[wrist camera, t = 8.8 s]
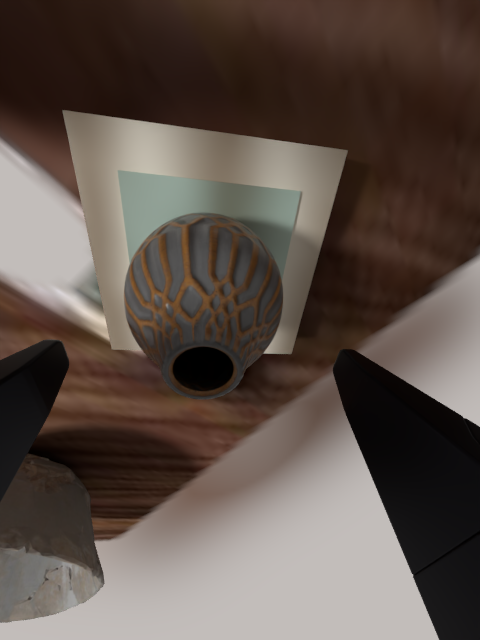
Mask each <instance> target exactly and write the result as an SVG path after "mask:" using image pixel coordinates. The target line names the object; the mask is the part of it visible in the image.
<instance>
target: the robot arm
mask: <svg viewBox="0 0 480 640" xmlns="http://www.w3.org/2000/svg"><path fill="white" fill-rule="evenodd" d="M68 368H69V359H68V356H67V353H66V350H65V347H64V344H63V342H62V341H60V340H43V341H41V342H39V343H37V344H35V345H32V346H30V347H28V348H26V349H24V350H22V351H19V352H17V353H15V354H13V355H11V356H9V357H6V358H4V359H2V360H0V502H1V500H2V499H3V497H4V495H5V493H6V491H7V489H8V488H9V486H10V484H11V482H12V480H13V479H14V477H15V475H16V473H17V471H18V470H19V468H20V466H21V464H22V462H23V461H24V459H25V457H26V455H27V453H28V452H29V450H30V448H31V446H32V444H33V442H34V441H35V439H36V437H37V435H38V433H39V432H40V430H41V428H42V426H43V424H44V423H45V421H46V419H47V417H48V415H49V413H50V411H51V409H52V406H53V404H54V402H55V399H56V397H57V394H58V392H59V390H60V387H61V385H62V382H63V380H64V378H65V375H66V373H67V370H68ZM333 374H334V377H335V380H336V384H337V387H338V390H339V394H340V397H341V401H342V404H343V407H344V410H345V413H346V416H347V418H348V421H349V423H350V425H351V428H352V430H353V433H354V435H355V438H356V440H357V443H358V445H359V447H360V450H361V452H362V454H363V457H364V459H365V462H366V464H367V466H368V469H369V471H370V474H371V476H372V478H373V481H374V483H375V486H376V488H377V490H378V493H379V495H380V498H381V500H382V503H383V505H384V507H385V510H386V512H387V515H388V517H389V519H390V522H391V524H392V527H393V529H394V532H395V534H396V536H397V539H398V541H399V543H400V546H401V548H402V551H403V553H404V556H405V558H406V560H407V563H408V565H409V567H410V570H411V572H412V574H413V578H414V580H415V583H416V585H417V587H418V590H419V592H420V594H421V597H422V599H423V602H424V604H425V606H426V609H427V611H428V614H429V616H430V618H431V621H432V623H433V626H434V628H435V631H436V633H437V635H438V638H439V640H480V427H479V426H477V425H476V424H474V423H473V422H471V421H469V420H468V419H465V418H463V417H462V416H461V415H459V414H458V413H456V412H455V411H453V410H451V409H449V408H448V407H446V406H445V405H443V404H441V403H440V402H438V401H436V400H435V399H433V398H431V397H430V396H428V395H427V394H425V393H423V392H422V391H420V390H419V389H417V388H415V387H414V386H412V385H410V384H409V383H407V382H406V381H404V380H402V379H401V378H399V377H397V376H396V375H394V374H392V373H391V372H389V371H388V370H386V369H384V368H383V367H381V366H379V365H378V364H376V363H375V362H373V361H371V360H369V359H368V358H366V357H365V356H363V355H361V354H360V353H358V352H357V351H355V350H352V349H342V350H341V351H340V352H339V354H338V356H337V359H336V361H335V364H334V367H333Z"/></svg>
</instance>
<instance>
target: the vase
mask: <svg viewBox="0 0 480 640" xmlns="http://www.w3.org/2000/svg"><path fill="white" fill-rule="evenodd" d="M124 307H125V314H126V319H127V322H128V325H129V328H130V331H131V333H132V335H133V337H134V339H135V340H136V342H137V344H138V345H139V347H140V348H141V349H142V351H143V352H144V353H145V354H146V355H147V356H148V357H149V358H150V359H151V360H152V361H153V362H154V363H155V364H156V365H157V366H159V368H160V371H161V374H162V376H163V378H164V380H165V382H166V383H167V385H168V386H169V387H170V388H171V389H172V390H174V391H175V392H177V393H178V394H180V395H182V396H185V397H188V398H193V399H212V398H216V397H220V396H222V395H224V394H226V393H228V392H230V391H231V390H233V389H234V388H235V387H236V386H237V385H238V383H239V382H240V380H241V379H242V377H243V374H244V372H245V370H246V368H248V367H249V366H250V365H251V364H252V363H254V362H255V361H256V360H257V359H258V358H259V357H260V356H261V355H262V354H263V353H264V352H265V350H266V349H267V348H268V346H269V345H270V343H271V342H272V340H273V338H274V336H275V334H276V332H277V329H278V327H279V323H280V320H281V315H282V308H283V285H282V279H281V275H280V271H279V268H278V266H277V263H276V261H275V259H274V257H273V255H272V253H271V252H270V250H269V249H268V247H267V246H266V245H265V243H264V242H263V241H262V240H261V238H260V237H259V236H258V235H257V234H256V233H254V232H253V231H252V230H251V229H250V228H248V227H247V226H246V225H244V224H242V223H241V222H239V221H237V220H235V219H233V218H230V217H227V216H224V215H221V214H216V213H206V212H201V213H191V214H186V215H182V216H179V217H176V218H174V219H172V220H170V221H168V222H166V223H164V224H163V225H161V226H160V227H158V228H157V229H156V230H154V231H153V232H152V233H151V234H150V235H149V236H148V237H147V238H146V239H145V240H144V241H143V243H142V244H141V245H140V247H139V248H138V250H137V251H136V253H135V254H134V256H133V258H132V260H131V263H130V265H129V268H128V271H127V275H126V279H125V286H124Z"/></svg>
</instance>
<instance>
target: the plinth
mask: <svg viewBox="0 0 480 640" xmlns="http://www.w3.org/2000/svg"><path fill="white" fill-rule="evenodd" d="M62 111H63V116H64V121H65V126H66V130H67V135H68V140H69V145H70V150H71V154H72V159H73V164H74V169H75V174H76V179H77V183H78V188H79V193H80V198H81V203H82V207H83V212H84V217H85V222H86V227H87V232H88V236H89V241H90V246H91V251H92V256H93V260H94V265H95V270H96V275H97V280H98V285H99V289H100V294H101V299H102V304H103V309H104V313H105V318H106V323H107V328H108V333H109V337H110V342H111V347H112V349H115V350H142V349H141V348H140V347H139V345H138V344H137V342H136V340H135V339H134V337H133V335H132V333H131V331H130V328H129V325H128V322H127V319H126V314H125V307H124V286H125V279H126V275H127V271H128V268H129V265H130V263H131V260H132V258H133V256H134V254H135V253H136V251H137V250H138V248H139V247H140V245H141V244H142V243H143V241H144V240H145V239H146V238H147V237H148V236H149V235H150V234H151V233H152V232H153V231H154V230H156V229H157V228H158V227H160V226H161V225H163V224H164V223H166V222H168V221H170V220H172V219H174V218H176V217H179V216H182V215H186V214H191V213H201V212H206V213H216V214H221V215H224V216H227V217H230V218H233V219H235V220H237V221H239V222H241V223H242V224H244V225H246V226H247V227H248V228H250V229H251V230H252V231H253V232H254V233H256V234H257V235H258V236H259V237H260V238H261V240H262V241H263V242H264V243H265V245H266V246H267V247H268V249H269V250H270V252H271V253H272V255H273V257H274V259H275V261H276V263H277V266H278V268H279V271H280V275H281V279H282V285H283V308H282V315H281V320H280V323H279V327H278V329H277V332H276V334H275V336H274V338H273V340H272V342H271V343H270V345H269V346H268V348H267V349H266V350H265V352H264V353H271V354H292V350H293V347H294V343H295V339H296V336H297V332H298V329H299V325H300V321H301V318H302V314H303V311H304V307H305V303H306V300H307V296H308V292H309V289H310V285H311V282H312V278H313V274H314V271H315V267H316V264H317V260H318V256H319V253H320V249H321V246H322V242H323V238H324V235H325V231H326V228H327V224H328V220H329V217H330V213H331V210H332V206H333V202H334V199H335V195H336V191H337V188H338V184H339V181H340V177H341V173H342V170H343V166H344V163H345V159H346V155H347V152H348V150H342V149H335V148H328V147H321V146H314V145H307V144H299V143H292V142H285V141H278V140H271V139H264V138H257V137H250V136H243V135H236V134H229V133H222V132H215V131H208V130H201V129H193V128H186V127H179V126H172V125H165V124H158V123H151V122H144V121H137V120H130V119H123V118H116V117H109V116H102V115H94V114H87V113H80V112H73V111H66V110H62Z"/></svg>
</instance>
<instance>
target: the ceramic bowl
mask: <svg viewBox="0 0 480 640" xmlns="http://www.w3.org/2000/svg"><path fill="white" fill-rule="evenodd" d="M90 501H91V499H90V495H89V493H88V491H87V489H86V488H85V486H84V485H83V483H82V482H81V481H80V480H79V478H78V477H77V476H76V475H75V474H74V473H73V471H72V470H71V469H69V468H68V467H67V466H65V465H63V464H59V463H56V462H53V461H50V460H49V459H48V458H44V457H39V456H35V455H32V454H27V455H26V457H25V459H24V461H23V462H22V464H21V466H20V468H19V470H18V471H17V473H16V475H15V477H14V479H13V480H12V482H11V484H10V486H9V488H8V489H7V491H6V493H5V495H4V497H3V499H2V500H1V502H0V622H11V621H18V620H27V619H34V618H38V617H44V616H49V615H53V614H56V613H59V612H62V611H65V610H67V609H69V608H71V607H73V606H76V605H78V604H80V603H84V602H86V601H87V600H89V599H90V598H91V597H93V596H94V595H95V594H96V593H97V592H98V591H99V590H100V588H101V587H103V585H104V576H103V571H102V567H101V564H100V561H99V558H98V554H97V550H96V547H95V543H94V533H93V526H92V519H91V509H90Z"/></svg>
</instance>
